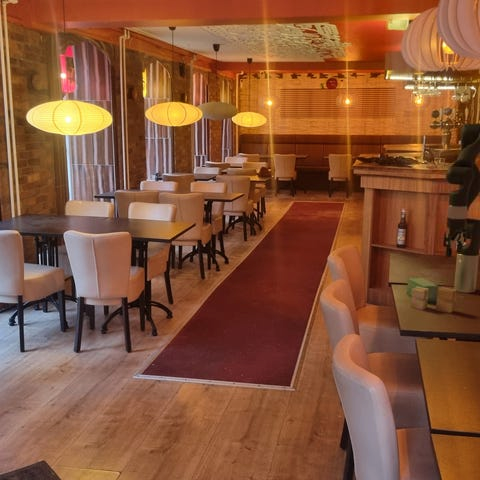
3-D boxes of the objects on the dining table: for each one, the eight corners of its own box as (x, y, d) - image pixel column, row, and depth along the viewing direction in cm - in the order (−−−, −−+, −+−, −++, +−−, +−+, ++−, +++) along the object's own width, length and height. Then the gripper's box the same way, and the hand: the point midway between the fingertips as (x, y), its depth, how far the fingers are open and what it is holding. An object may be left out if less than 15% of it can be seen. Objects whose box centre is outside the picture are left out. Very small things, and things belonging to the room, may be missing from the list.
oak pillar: (440, 307, 254) (441, 287, 252) (454, 310, 250) (456, 289, 248) (435, 310, 250) (437, 289, 248) (450, 313, 247) (452, 292, 245)
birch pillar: (415, 304, 257) (417, 286, 256) (427, 307, 254) (428, 288, 253) (410, 307, 254) (412, 289, 252) (422, 310, 250) (423, 291, 249)
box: (422, 303, 260) (424, 286, 258) (406, 294, 273) (407, 278, 271) (437, 302, 262) (439, 285, 260) (420, 293, 274) (421, 277, 273)
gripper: (457, 212, 254) (454, 250, 257) (439, 217, 244) (436, 256, 248) (474, 215, 248) (471, 253, 252) (456, 220, 239) (453, 259, 243)
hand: (453, 255), depth 250 cm, fingers open, 8 cm apart
